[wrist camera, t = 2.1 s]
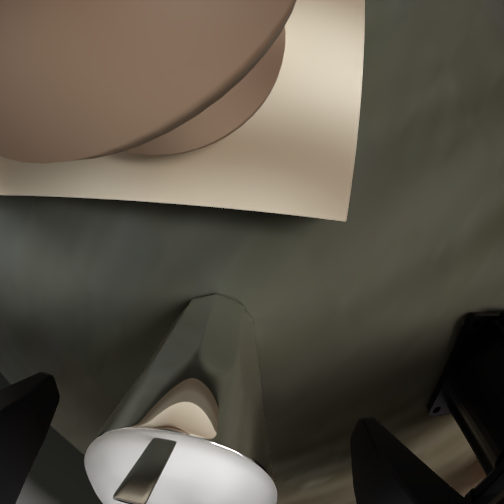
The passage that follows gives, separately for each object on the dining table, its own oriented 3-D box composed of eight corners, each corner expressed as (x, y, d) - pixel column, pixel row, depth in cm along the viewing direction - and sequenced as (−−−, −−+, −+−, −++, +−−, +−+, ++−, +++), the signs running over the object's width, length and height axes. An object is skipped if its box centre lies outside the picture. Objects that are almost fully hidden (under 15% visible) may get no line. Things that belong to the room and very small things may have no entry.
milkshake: (277, 263, 12) (308, 520, 3) (265, 373, 14) (265, 589, 4) (161, 254, 12) (-2, 451, 3) (167, 364, 14) (93, 559, 4)
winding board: (332, 210, 12) (346, 221, 10) (-49, 188, 12) (-73, 194, 10) (348, -101, 7) (356, -123, 5) (3, -53, 7) (-14, -63, 5)
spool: (272, 163, 9) (288, 175, 4) (66, 154, 9) (-66, 171, 4) (291, -32, 7) (312, -150, 2) (96, -22, 7) (10, -93, 2)
